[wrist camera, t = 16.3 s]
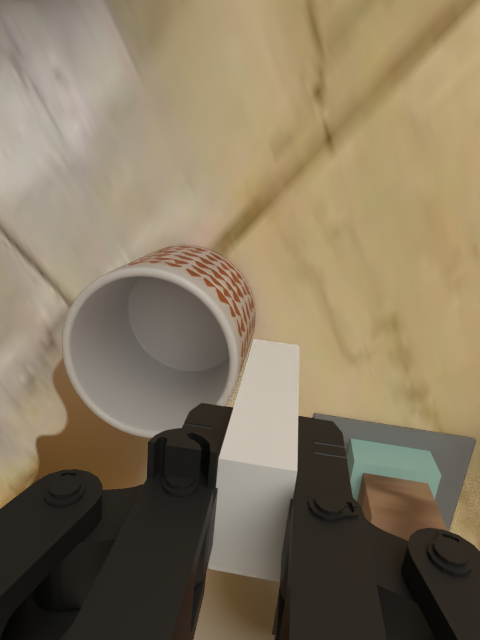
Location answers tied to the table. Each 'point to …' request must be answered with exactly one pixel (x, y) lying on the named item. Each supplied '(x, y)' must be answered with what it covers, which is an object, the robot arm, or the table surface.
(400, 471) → the teal base block
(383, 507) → the walnut block
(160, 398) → the planter
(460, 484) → the build mat
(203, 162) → the table surface
